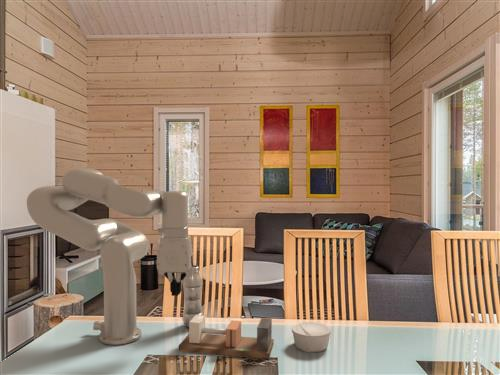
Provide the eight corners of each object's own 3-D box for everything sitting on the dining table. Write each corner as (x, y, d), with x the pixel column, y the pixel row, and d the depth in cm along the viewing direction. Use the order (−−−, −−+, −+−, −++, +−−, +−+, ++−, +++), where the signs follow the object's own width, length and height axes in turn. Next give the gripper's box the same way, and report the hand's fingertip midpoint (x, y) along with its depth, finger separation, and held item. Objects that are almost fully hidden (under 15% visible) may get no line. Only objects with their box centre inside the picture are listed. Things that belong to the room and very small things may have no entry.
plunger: (189, 342, 120) (189, 322, 120) (195, 334, 126) (195, 315, 125) (224, 345, 118) (224, 324, 118) (229, 337, 124) (229, 317, 124)
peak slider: (224, 348, 116) (224, 330, 116) (231, 336, 124) (231, 320, 124) (235, 349, 115) (235, 331, 115) (241, 337, 124) (241, 321, 123)
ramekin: (284, 346, 122) (284, 328, 122) (306, 335, 130) (306, 319, 130) (316, 358, 115) (316, 339, 114) (337, 346, 123) (337, 328, 123)
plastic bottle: (199, 330, 134) (199, 269, 133) (179, 329, 135) (179, 268, 134) (205, 323, 140) (205, 264, 139) (186, 322, 141) (186, 263, 141)
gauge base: (178, 350, 118) (178, 323, 118) (189, 337, 128) (189, 311, 128) (268, 358, 114) (269, 330, 113) (273, 344, 123) (273, 317, 123)
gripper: (146, 234, 120) (147, 297, 121) (195, 235, 118) (196, 299, 118) (156, 230, 128) (157, 290, 128) (203, 231, 125) (204, 292, 126)
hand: (176, 294), depth 123 cm, fingers closed
